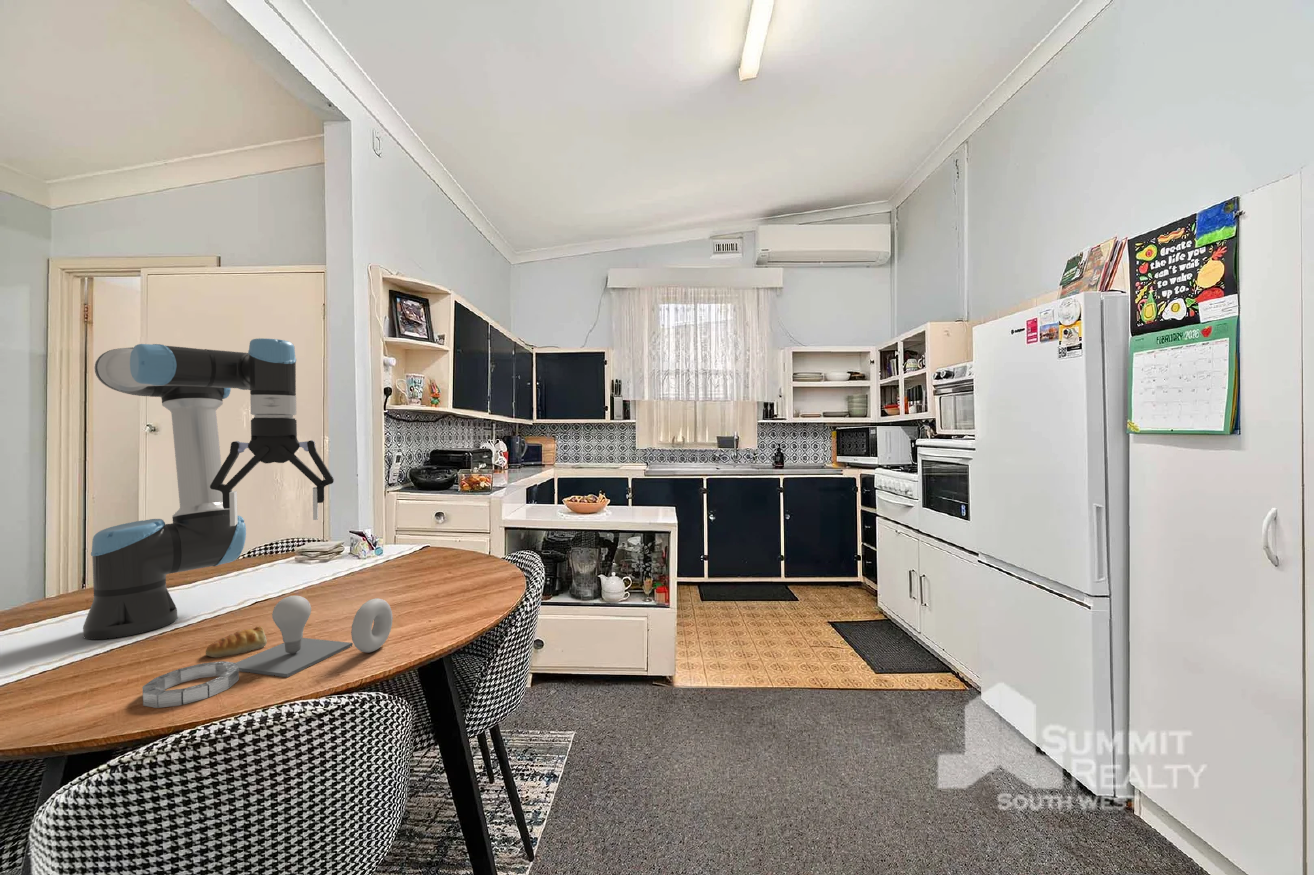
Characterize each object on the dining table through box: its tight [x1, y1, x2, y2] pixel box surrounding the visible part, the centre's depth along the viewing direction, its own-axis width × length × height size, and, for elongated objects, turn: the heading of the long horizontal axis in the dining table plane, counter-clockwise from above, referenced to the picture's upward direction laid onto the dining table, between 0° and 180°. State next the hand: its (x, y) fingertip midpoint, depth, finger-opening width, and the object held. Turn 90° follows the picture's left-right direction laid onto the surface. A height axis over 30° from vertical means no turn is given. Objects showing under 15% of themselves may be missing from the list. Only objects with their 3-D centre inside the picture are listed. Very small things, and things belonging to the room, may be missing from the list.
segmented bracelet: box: [142, 660, 240, 709], centre depth 90 cm, size 12×12×2 cm
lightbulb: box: [271, 595, 312, 654], centre depth 102 cm, size 6×6×11 cm
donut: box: [350, 597, 393, 654], centre depth 104 cm, size 10×4×10 cm, turn 174°
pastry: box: [205, 625, 268, 658], centre depth 106 cm, size 9×7×4 cm
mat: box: [235, 637, 354, 678], centre depth 102 cm, size 14×14×1 cm
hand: (276, 521), depth 109 cm, fingers open, 13 cm apart
